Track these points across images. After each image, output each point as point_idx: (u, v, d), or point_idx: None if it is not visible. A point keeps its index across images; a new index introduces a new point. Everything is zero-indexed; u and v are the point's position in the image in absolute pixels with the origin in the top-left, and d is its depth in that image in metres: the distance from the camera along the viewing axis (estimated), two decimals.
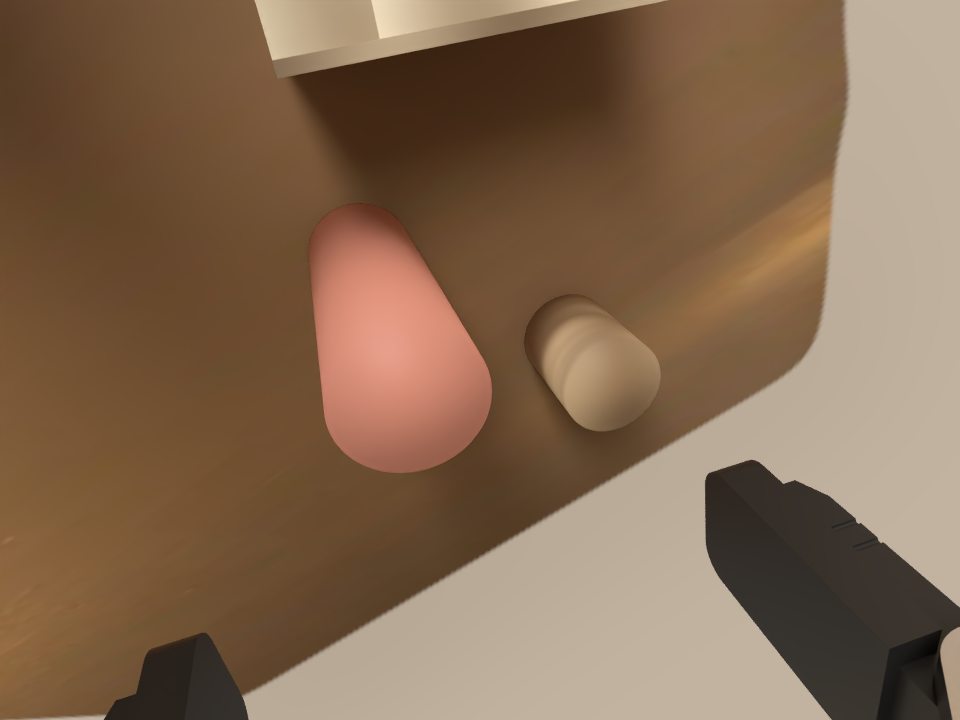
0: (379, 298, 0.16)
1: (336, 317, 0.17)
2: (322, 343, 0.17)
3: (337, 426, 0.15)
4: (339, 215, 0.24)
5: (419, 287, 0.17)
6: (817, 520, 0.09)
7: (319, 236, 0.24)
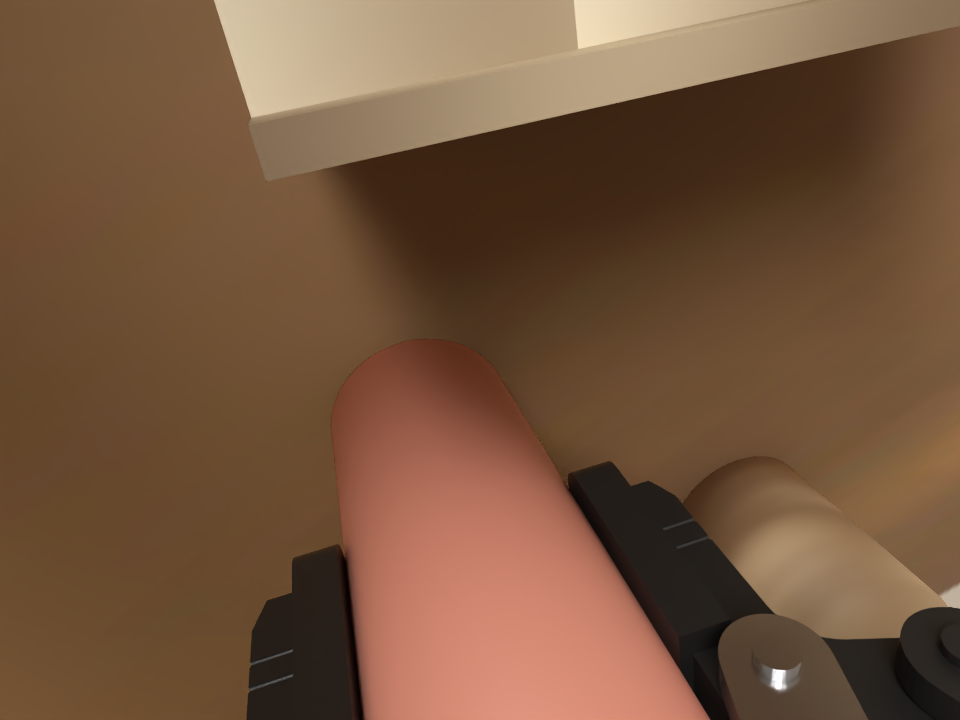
0: None
1: None
2: None
3: None
4: (391, 372, 0.13)
5: None
6: (649, 518, 0.10)
7: (355, 417, 0.13)
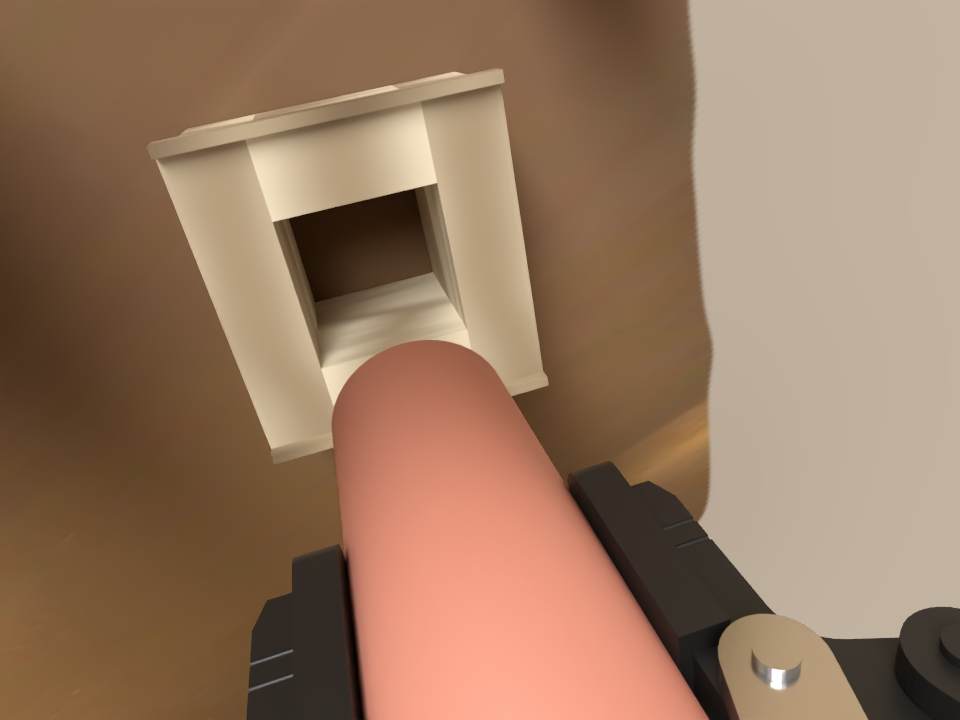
0: None
1: None
2: None
3: None
4: (391, 373, 0.13)
5: None
6: (649, 518, 0.10)
7: (355, 418, 0.13)
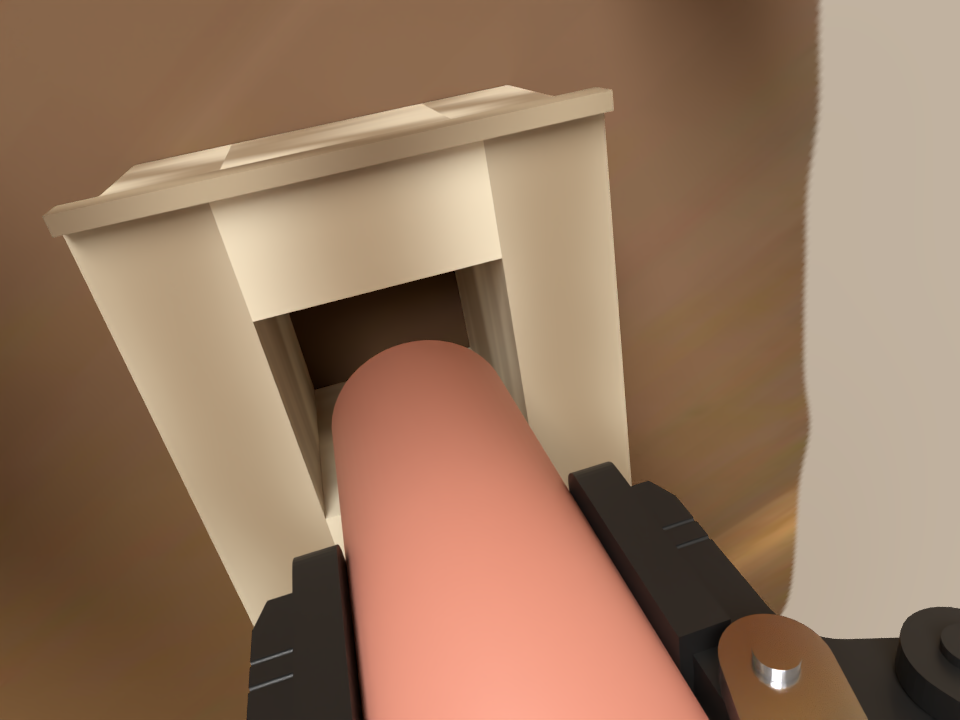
0: None
1: None
2: None
3: None
4: (392, 373, 0.13)
5: None
6: (649, 518, 0.10)
7: (356, 418, 0.13)
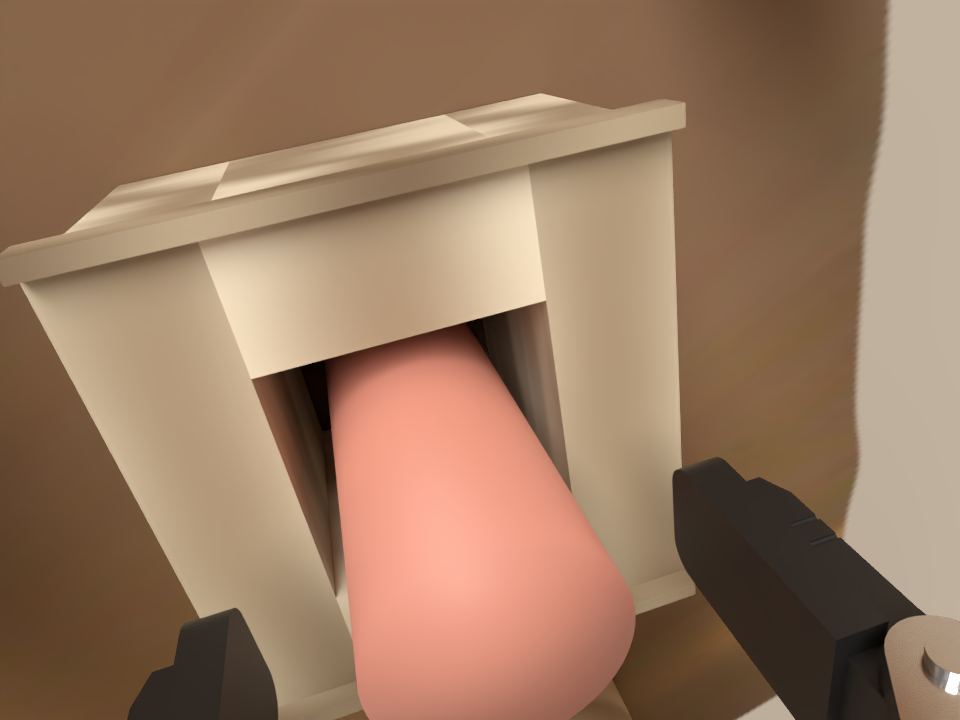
0: (445, 468, 0.10)
1: (373, 491, 0.10)
2: (350, 531, 0.10)
3: (379, 704, 0.09)
4: None
5: (503, 434, 0.11)
6: (776, 516, 0.09)
7: None
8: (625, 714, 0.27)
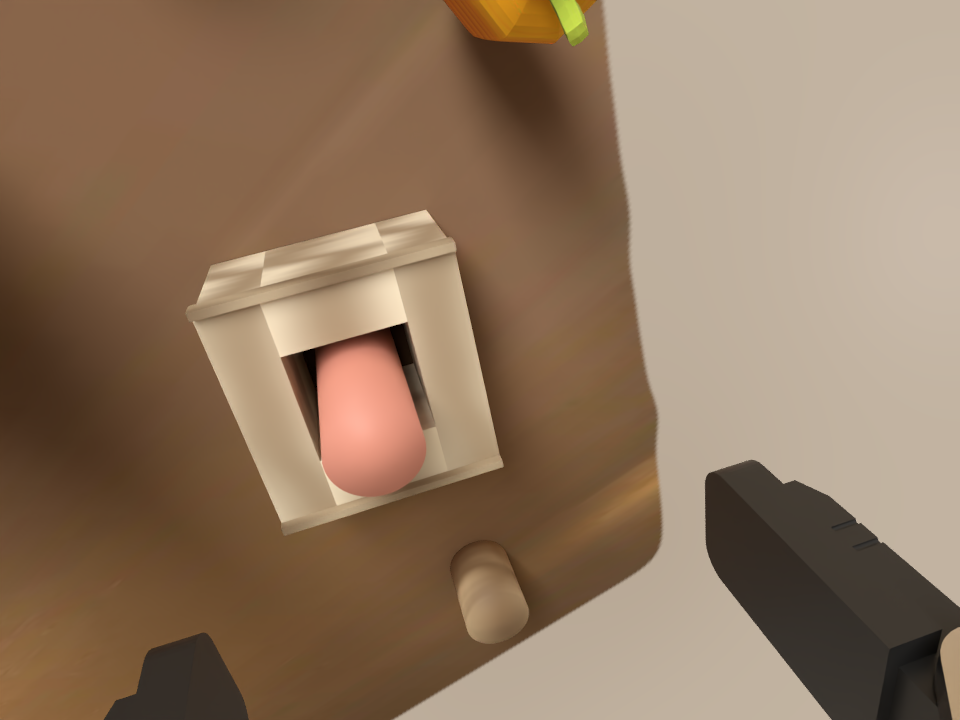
0: (356, 388, 0.26)
1: (329, 399, 0.27)
2: (321, 415, 0.27)
3: (330, 469, 0.25)
4: None
5: (382, 377, 0.27)
6: (817, 520, 0.09)
7: None
8: (509, 570, 0.43)
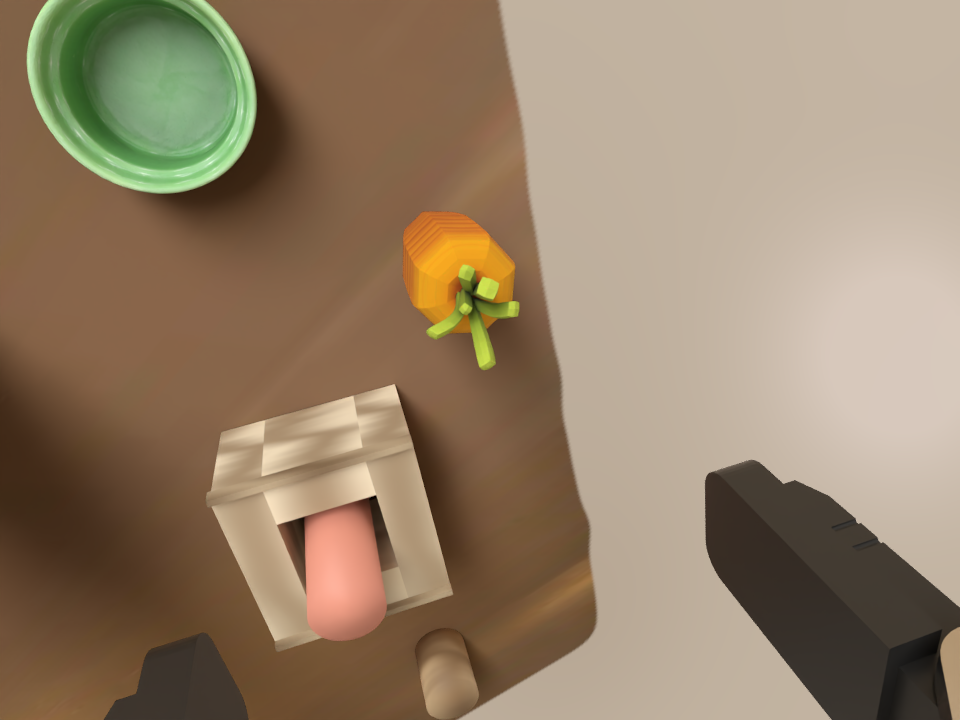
0: (334, 559, 0.35)
1: (314, 564, 0.35)
2: (307, 576, 0.35)
3: (313, 624, 0.34)
4: None
5: (355, 545, 0.36)
6: (817, 520, 0.09)
7: None
8: (463, 656, 0.51)
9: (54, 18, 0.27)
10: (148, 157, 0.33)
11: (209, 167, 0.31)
